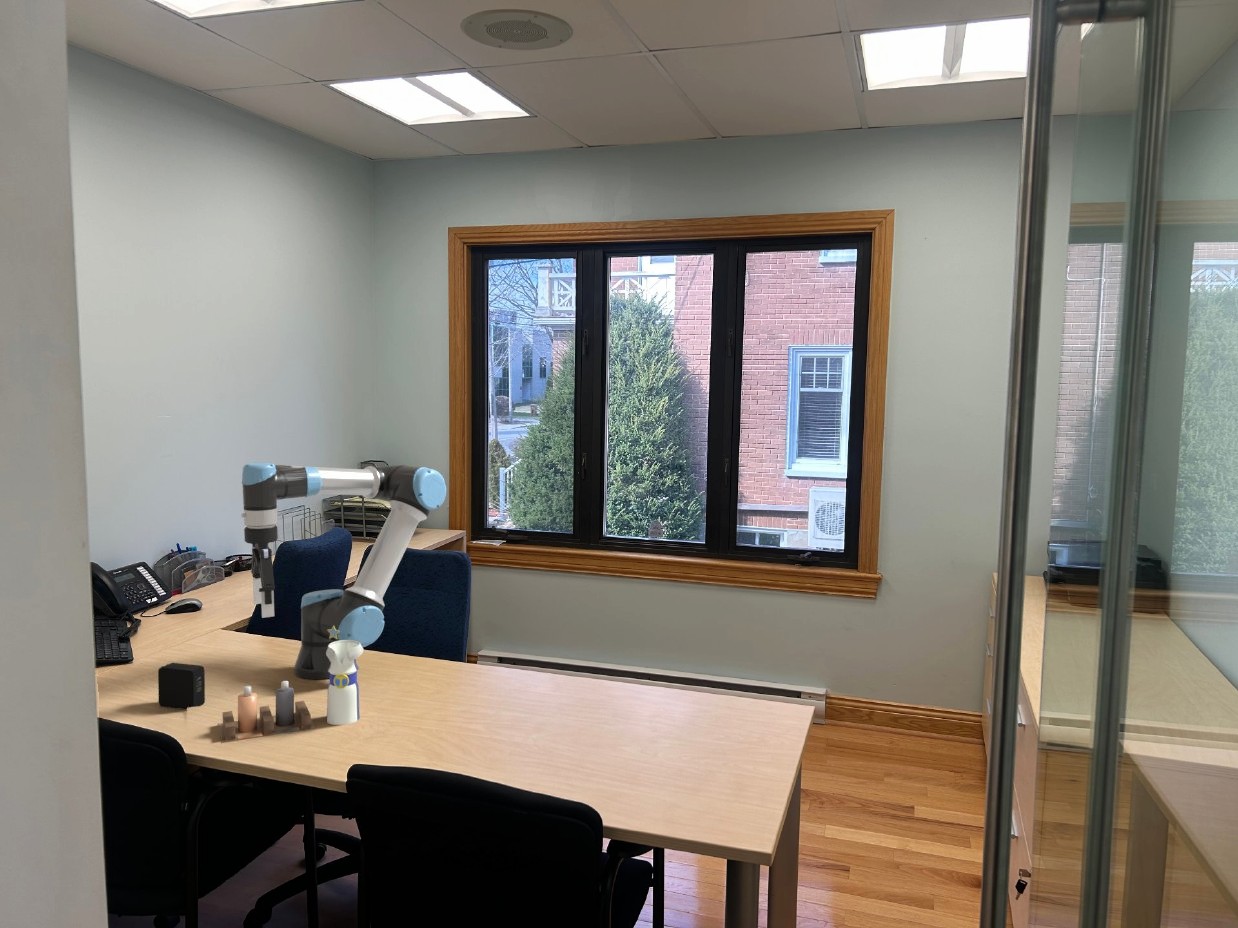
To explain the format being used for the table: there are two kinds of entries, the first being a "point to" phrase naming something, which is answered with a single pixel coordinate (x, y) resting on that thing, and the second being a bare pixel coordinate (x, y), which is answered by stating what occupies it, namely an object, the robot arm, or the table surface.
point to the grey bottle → (284, 705)
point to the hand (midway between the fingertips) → (263, 609)
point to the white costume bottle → (343, 680)
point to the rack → (265, 724)
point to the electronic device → (181, 685)
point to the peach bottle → (247, 711)
